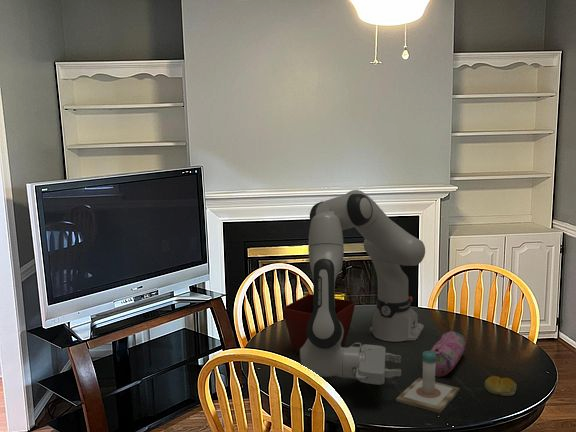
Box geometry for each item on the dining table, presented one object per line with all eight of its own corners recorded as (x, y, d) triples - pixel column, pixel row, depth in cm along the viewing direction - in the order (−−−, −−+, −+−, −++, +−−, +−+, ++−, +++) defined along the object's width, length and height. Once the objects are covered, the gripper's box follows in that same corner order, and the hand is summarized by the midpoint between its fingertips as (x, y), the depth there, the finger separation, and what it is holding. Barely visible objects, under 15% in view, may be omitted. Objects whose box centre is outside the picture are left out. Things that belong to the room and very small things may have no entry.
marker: (424, 387, 181) (425, 349, 178) (437, 391, 178) (438, 352, 176) (419, 392, 177) (420, 354, 175) (432, 396, 175) (433, 357, 173)
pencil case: (449, 381, 188) (450, 353, 186) (421, 375, 193) (421, 348, 191) (467, 357, 206) (468, 331, 204) (441, 352, 211) (441, 327, 209)
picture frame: (418, 380, 188) (418, 376, 188) (459, 391, 181) (459, 387, 181) (396, 401, 175) (396, 397, 175) (439, 413, 168) (439, 409, 168)
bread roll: (487, 382, 187) (488, 369, 187) (518, 388, 183) (518, 376, 182) (480, 392, 180) (481, 380, 180) (512, 399, 176) (513, 386, 175)
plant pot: (356, 346, 217) (356, 301, 214) (332, 365, 200) (331, 317, 198) (309, 337, 226) (308, 293, 223) (282, 355, 210) (281, 308, 207)
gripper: (351, 367, 170) (401, 370, 167) (355, 340, 190) (401, 342, 187) (351, 388, 171) (401, 391, 168) (355, 359, 191) (400, 361, 188)
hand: (401, 365), depth 178 cm, fingers open, 8 cm apart
